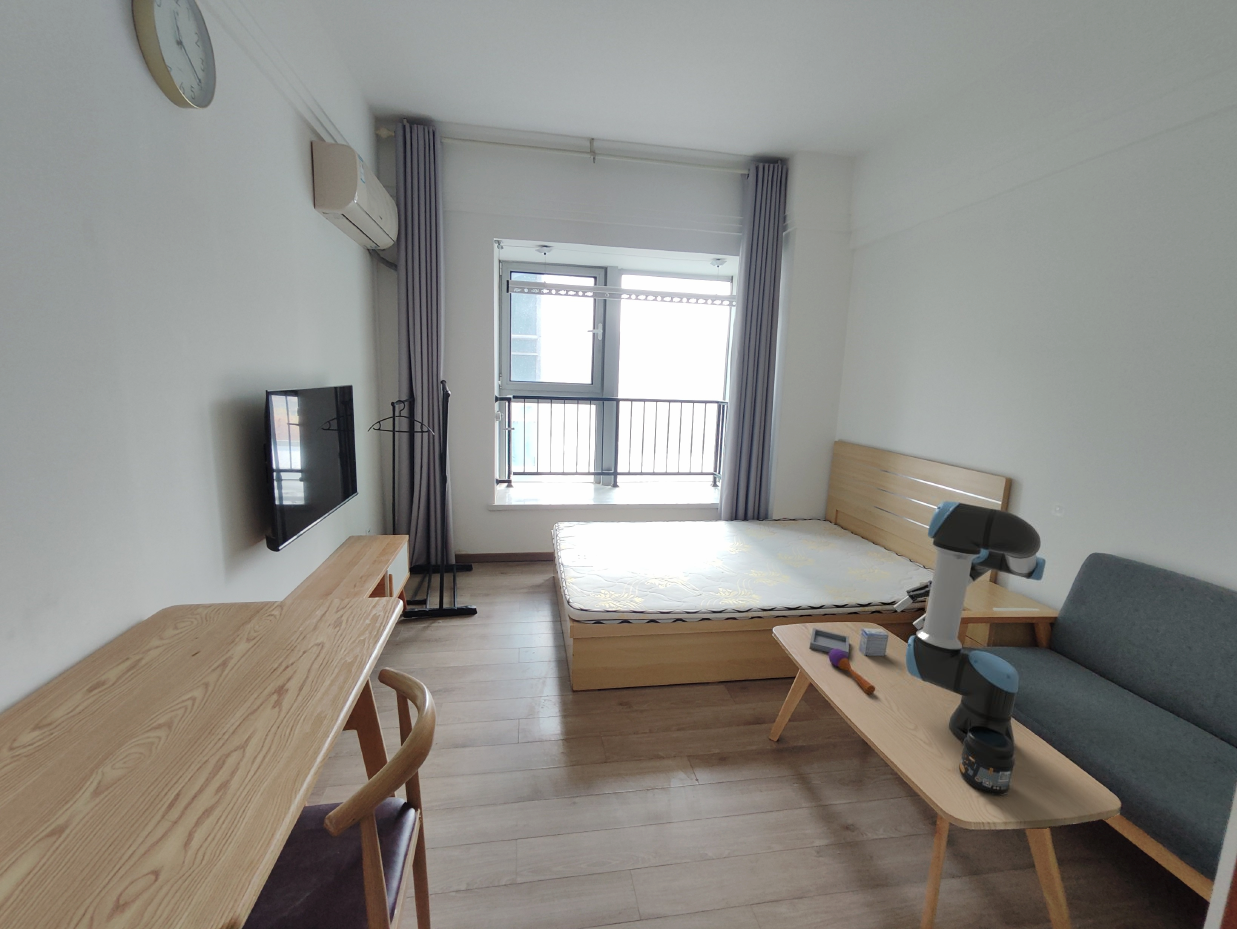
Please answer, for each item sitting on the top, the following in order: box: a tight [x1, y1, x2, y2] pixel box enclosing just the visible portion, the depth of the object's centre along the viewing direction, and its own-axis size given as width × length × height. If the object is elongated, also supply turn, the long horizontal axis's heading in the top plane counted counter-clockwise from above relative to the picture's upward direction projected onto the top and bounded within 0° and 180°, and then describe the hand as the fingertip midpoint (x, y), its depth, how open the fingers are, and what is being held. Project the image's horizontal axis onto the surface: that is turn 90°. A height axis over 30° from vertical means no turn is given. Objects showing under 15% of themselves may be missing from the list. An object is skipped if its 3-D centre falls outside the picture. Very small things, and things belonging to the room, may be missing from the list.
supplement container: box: [958, 726, 1016, 796], centre depth 128 cm, size 10×10×12 cm
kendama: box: [828, 648, 876, 695], centre depth 173 cm, size 6×6×20 cm
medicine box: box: [858, 628, 889, 657], centre depth 188 cm, size 8×4×9 cm, turn 93°
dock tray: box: [809, 627, 850, 659], centre depth 193 cm, size 13×13×2 cm
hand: (905, 617), depth 187 cm, fingers open, 13 cm apart
